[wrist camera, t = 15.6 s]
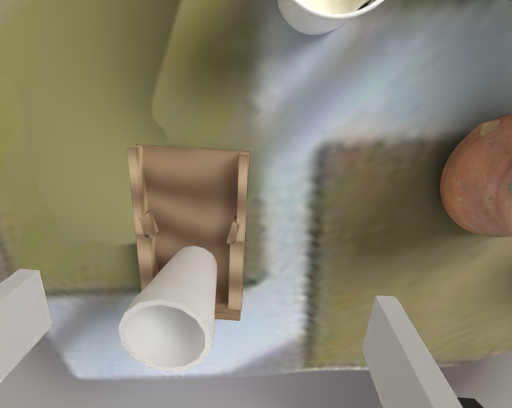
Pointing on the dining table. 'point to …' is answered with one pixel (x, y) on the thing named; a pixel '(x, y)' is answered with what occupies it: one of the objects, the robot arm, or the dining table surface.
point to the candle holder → (322, 13)
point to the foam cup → (174, 314)
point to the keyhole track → (191, 212)
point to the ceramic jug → (481, 180)
